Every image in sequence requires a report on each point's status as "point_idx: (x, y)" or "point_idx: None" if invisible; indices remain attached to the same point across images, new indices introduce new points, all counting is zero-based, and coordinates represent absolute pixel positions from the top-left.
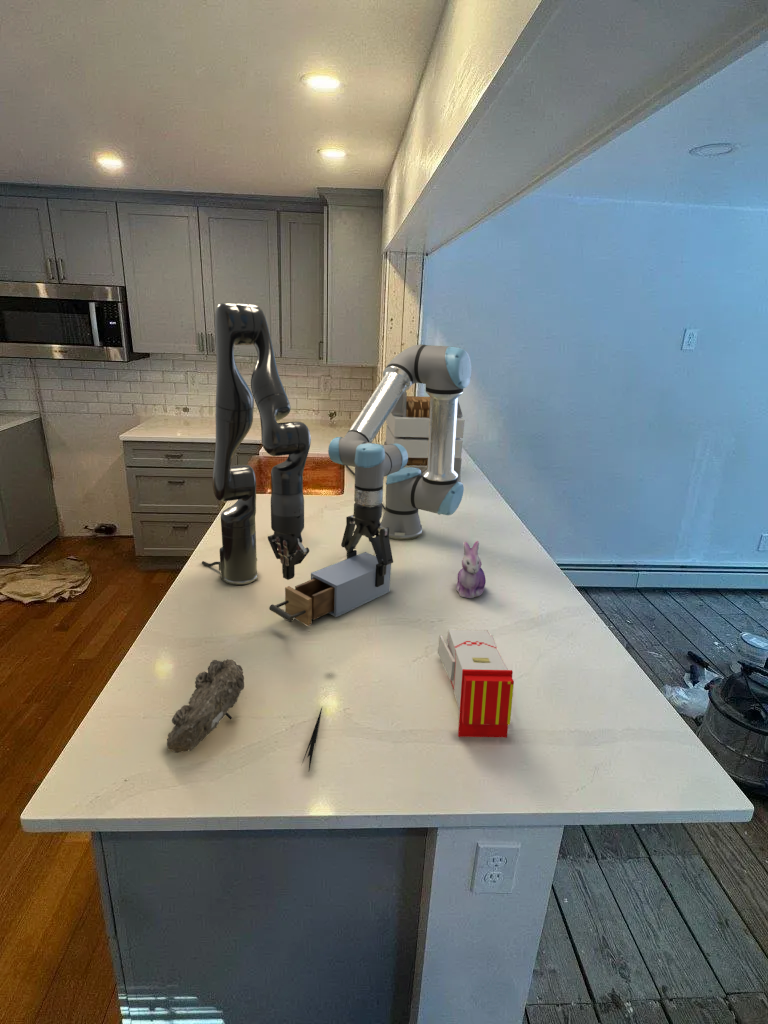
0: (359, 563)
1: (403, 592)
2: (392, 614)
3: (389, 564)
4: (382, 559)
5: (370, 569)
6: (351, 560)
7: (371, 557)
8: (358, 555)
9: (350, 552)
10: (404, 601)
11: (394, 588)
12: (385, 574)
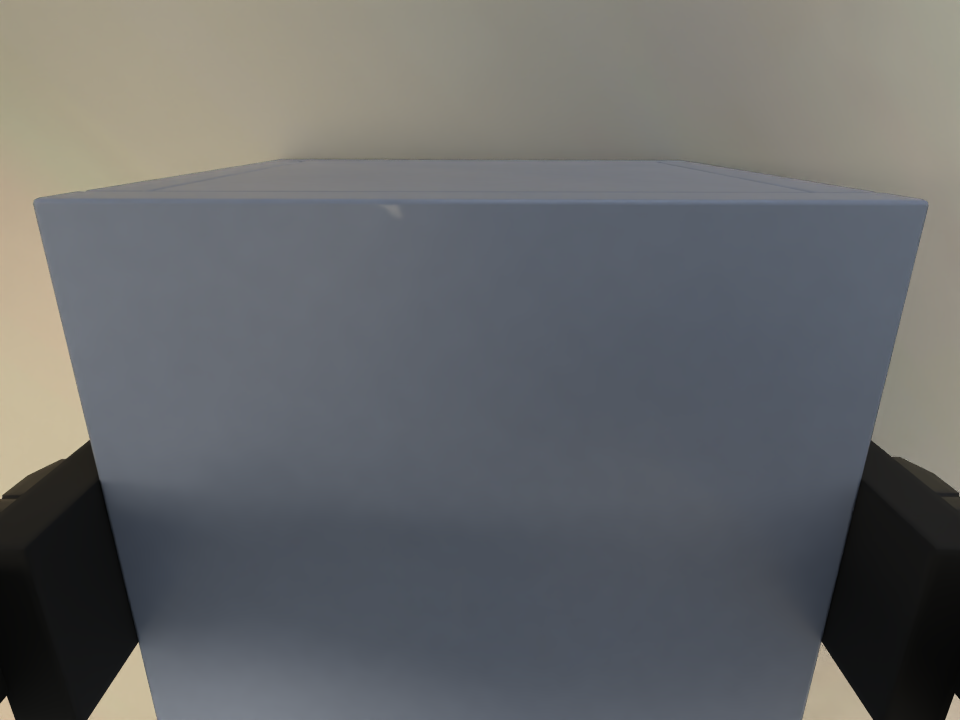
0: (445, 680)
1: (819, 39)
2: (945, 469)
3: (898, 260)
4: (653, 225)
5: (751, 704)
6: (255, 692)
7: (392, 338)
8: (132, 465)
9: (47, 700)
10: (931, 206)
11: (674, 41)
12: (906, 463)
